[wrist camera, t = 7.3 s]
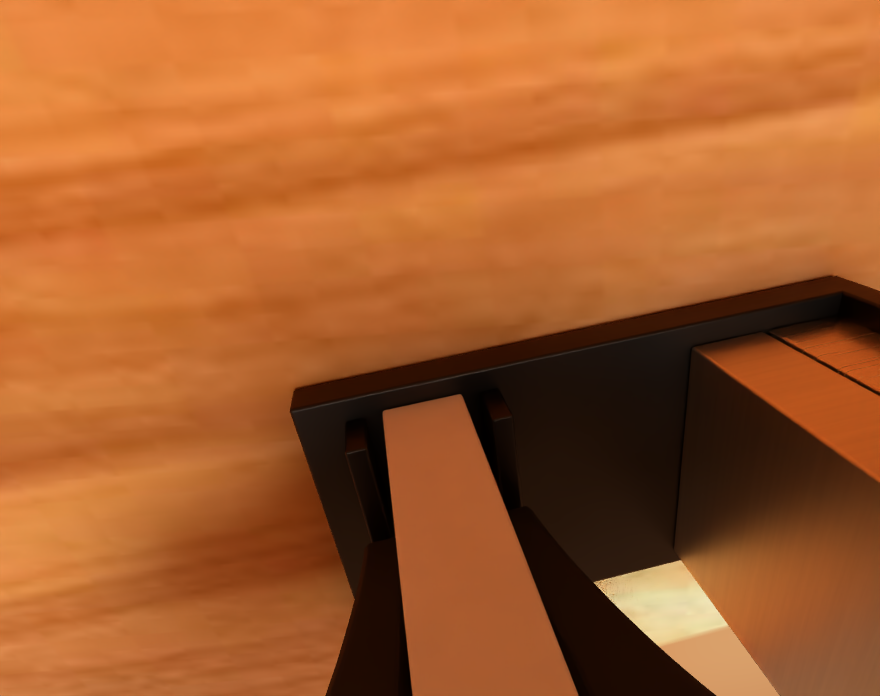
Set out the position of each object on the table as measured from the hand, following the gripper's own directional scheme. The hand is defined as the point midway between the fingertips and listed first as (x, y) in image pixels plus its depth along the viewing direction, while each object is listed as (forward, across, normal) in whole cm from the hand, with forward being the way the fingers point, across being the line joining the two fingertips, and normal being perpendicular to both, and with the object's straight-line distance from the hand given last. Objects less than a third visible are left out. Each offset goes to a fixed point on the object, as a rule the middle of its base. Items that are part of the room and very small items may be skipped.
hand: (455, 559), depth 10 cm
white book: (+1, 0, 0) cm, 1 cm away
